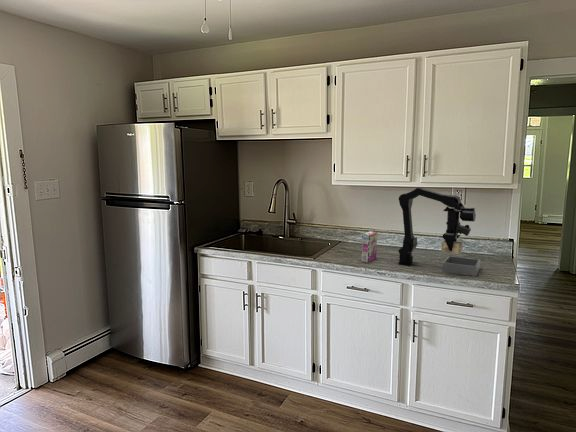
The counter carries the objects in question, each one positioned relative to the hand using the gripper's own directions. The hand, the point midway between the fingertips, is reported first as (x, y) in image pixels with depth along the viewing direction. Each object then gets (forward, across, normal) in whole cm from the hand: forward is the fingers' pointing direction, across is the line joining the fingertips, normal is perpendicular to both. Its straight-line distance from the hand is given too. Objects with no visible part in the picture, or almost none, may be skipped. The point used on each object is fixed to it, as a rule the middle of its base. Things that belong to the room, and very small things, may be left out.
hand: (452, 249), depth 213 cm
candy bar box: (+11, -3, +44) cm, 46 cm away
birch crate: (+1, 0, 0) cm, 1 cm away
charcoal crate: (+12, +4, -4) cm, 13 cm away
